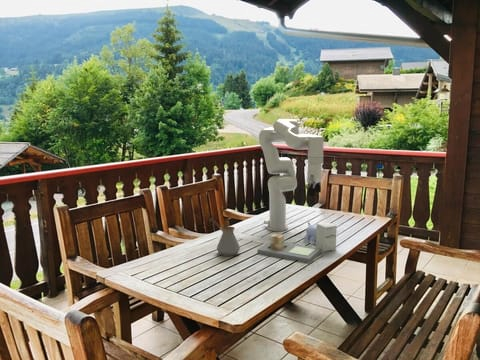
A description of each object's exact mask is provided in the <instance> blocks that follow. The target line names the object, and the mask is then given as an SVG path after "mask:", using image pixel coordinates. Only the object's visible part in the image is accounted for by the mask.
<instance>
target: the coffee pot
mask: <svg viewBox="0 0 480 360" xmlns="http://www.w3.org/2000/svg"><path fill="white" fill-rule="evenodd" d="M215 220H216V219H214V218H212V217H211V218H210V221H211V222H213V223H214V225H215V226H216V227H217V228H218V229H220V231H221V232H222V234H221V236H220V239H219V241H218V244H217V246H216V250H217V252H218V253H219V254H220V255H221V256H223V257H224V256H225V257H231V256H235V255H236V254H237V253H238V252H239V251H240V249H241V247H240V245H239V241H238V240H237V237H236V235H235V233H234V230H235V227H234V226H223V227H221V225H220V224H219V223H218V222H216V221H215Z"/></svg>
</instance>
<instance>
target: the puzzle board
mask: <svg viewBox="0 0 480 360" xmlns="http://www.w3.org/2000/svg"><path fill="white" fill-rule="evenodd" d="M256 250H257V254H259V255H263V256H264V255H265V256H270V257H275V258H279V259H280V258H281V259H284V260H290V259H292V260H291V261H295V260H298V261H297V262H301V261H303V262H302V263H306V262H307V264H310V263H311V262H313V260H315V259H316V258H317V257H318V256H319V255H320V254H322V250H321V249H319V248H316V247H312V246H306V245H299V244H294V243H290V242H289V243H288V242H284V249H283V250H282V251H280V250H274V249H271V240H270V241H268V242H267V243H266V244H264V245H262V246H261V247H259V248H257V249H256ZM314 258H315V259H314Z"/></svg>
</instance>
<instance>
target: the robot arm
mask: <svg viewBox="0 0 480 360" xmlns="http://www.w3.org/2000/svg"><path fill="white" fill-rule="evenodd" d="M272 125H273V126H272V127H266V128H263V129H261V130H260V131H259V134H258V142H259V145H260V147H261V150H262V151H263V156H264V160H265V165H266V169H267V172H268V174H270V175H273V176H271V177H269V179H268V181H267V187H268V192H269V219H264V220H263V223H264V224H265V225H266V229H267V230H268V231H273V232H283V231H287V230H288V229H289V226H288V225H287V224H286V220H287V219H286V218H287V217H286V214H287V210H286V209H287V205H286V204H287V203H286V202H287V201H286V200H287V199H286V197H285V195H284V192H291V191H294V190H296V188H297V186H298V181H297V176H296V171H295V167H294V163H293V161H292V160H291V158H289V157H280V155H279V150H278V148H277V147H276V145H274V144H273V143H281V142H283V143H284V142H285V144H286V146H287V147H289V148H290V149H293V150H297V151H299V150H307V164H308V166H307V173H306V174H307V177H306V183H307V184H308V186H307V187H308V194H307V195H308V197H315V196H316V193H322V178H323V177H322V176H323V173H322V172H323V170H322V169H323V167H322V165H323V164H324V136H322V135H315V134H300V131H299V129H300V128H299V127H300V126H299V122H298V121H297V120H296V119H294V118H279V119H277V120H275V121H274V123H273V124H272ZM281 174H283V175H281Z"/></svg>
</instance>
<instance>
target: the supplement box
mask: <svg viewBox="0 0 480 360" xmlns="http://www.w3.org/2000/svg"><path fill="white" fill-rule="evenodd" d="M316 225H317V228H316V241H315V242H316V243H315V248H319V249H321V252H328V251H335V250H336V249H337V247H336V246H337V229H338V228H337V225H336V224H333V223H330V222H324V223H323V222H321V223H316Z"/></svg>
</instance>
